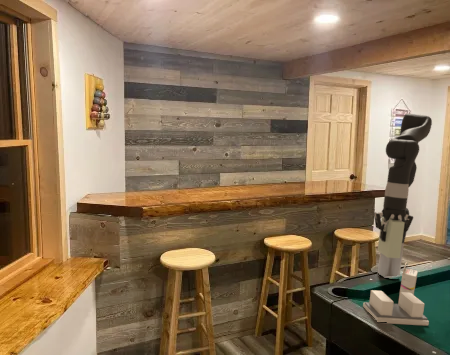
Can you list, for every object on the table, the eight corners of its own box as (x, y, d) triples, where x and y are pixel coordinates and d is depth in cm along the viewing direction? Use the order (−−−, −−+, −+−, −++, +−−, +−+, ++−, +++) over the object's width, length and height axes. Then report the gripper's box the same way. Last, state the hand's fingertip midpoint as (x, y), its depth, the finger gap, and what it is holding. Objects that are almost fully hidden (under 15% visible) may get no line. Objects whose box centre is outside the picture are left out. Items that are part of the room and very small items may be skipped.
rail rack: (362, 306, 138) (365, 288, 138) (409, 309, 139) (412, 291, 139) (377, 322, 127) (380, 303, 126) (428, 325, 127) (431, 306, 127)
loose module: (377, 250, 139) (381, 216, 138) (389, 251, 139) (393, 217, 138) (387, 257, 131) (392, 221, 130) (399, 258, 131) (404, 222, 130)
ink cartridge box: (412, 305, 143) (417, 269, 141) (398, 301, 145) (403, 265, 143) (413, 298, 150) (419, 263, 148) (400, 294, 152) (405, 260, 151)
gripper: (410, 195, 137) (403, 240, 139) (372, 192, 136) (366, 237, 138) (421, 198, 129) (414, 246, 131) (381, 195, 129) (375, 243, 131)
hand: (389, 241), depth 135 cm, fingers closed on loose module, 4 cm apart
